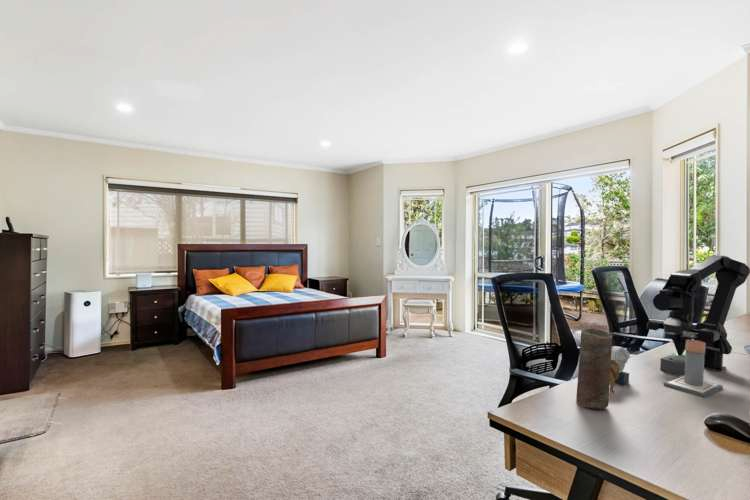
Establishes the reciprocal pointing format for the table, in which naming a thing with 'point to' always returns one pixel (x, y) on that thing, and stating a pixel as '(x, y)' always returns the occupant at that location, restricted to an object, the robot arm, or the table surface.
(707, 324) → the robot arm
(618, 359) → the watch
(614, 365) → the lion figurine
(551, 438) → the table surface
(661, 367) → the button housing
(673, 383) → the board
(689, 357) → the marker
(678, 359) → the button
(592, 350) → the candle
